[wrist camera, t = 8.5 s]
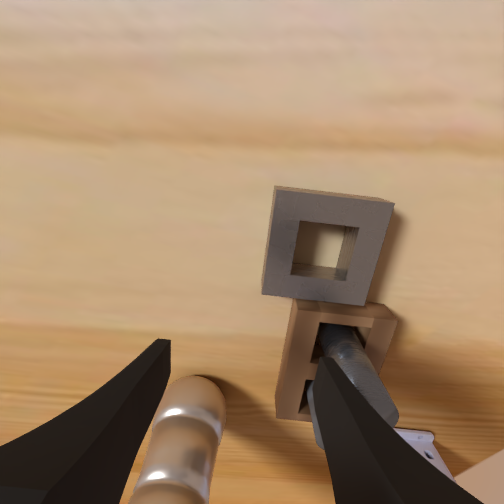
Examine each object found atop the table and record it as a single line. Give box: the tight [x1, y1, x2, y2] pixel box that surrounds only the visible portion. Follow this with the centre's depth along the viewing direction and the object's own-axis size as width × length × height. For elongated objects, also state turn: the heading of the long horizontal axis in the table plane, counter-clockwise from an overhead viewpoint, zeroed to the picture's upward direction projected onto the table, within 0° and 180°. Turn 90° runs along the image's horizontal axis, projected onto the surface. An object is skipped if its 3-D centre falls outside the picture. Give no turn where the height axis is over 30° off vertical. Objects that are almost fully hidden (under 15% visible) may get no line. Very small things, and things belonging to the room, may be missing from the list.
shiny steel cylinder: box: [317, 322, 399, 428], centre depth 19 cm, size 3×3×9 cm
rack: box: [275, 298, 398, 450], centre depth 22 cm, size 8×12×6 cm, turn 174°
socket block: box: [262, 186, 395, 306], centre depth 20 cm, size 8×8×2 cm
